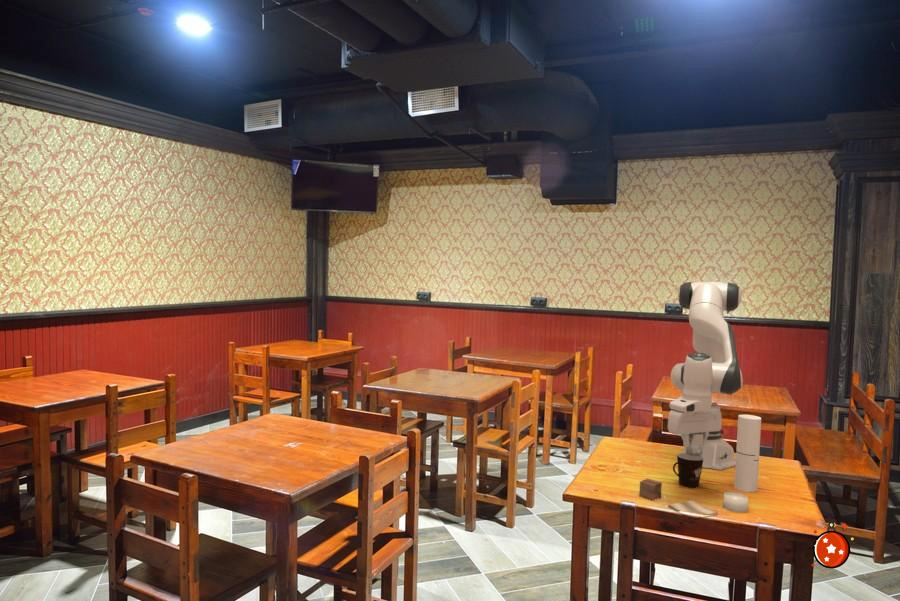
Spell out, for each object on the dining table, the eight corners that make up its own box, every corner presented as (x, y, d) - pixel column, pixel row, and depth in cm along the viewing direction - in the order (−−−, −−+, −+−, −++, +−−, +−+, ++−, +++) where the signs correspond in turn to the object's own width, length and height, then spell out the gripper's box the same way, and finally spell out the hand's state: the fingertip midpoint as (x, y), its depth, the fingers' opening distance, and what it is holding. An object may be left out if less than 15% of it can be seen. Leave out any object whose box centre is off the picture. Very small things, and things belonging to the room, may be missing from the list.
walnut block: (646, 493, 202) (647, 478, 202) (661, 497, 198) (661, 482, 198) (639, 496, 198) (640, 481, 198) (653, 501, 195) (654, 485, 195)
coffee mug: (695, 480, 216) (696, 453, 215) (706, 489, 207) (708, 460, 207) (663, 480, 215) (664, 452, 215) (673, 488, 207) (674, 459, 206)
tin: (693, 451, 199) (694, 430, 199) (705, 455, 195) (706, 434, 195) (682, 452, 197) (683, 431, 197) (694, 457, 193) (695, 435, 193)
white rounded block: (733, 503, 195) (734, 491, 195) (752, 511, 189) (753, 498, 189) (718, 506, 192) (718, 493, 192) (736, 514, 186) (737, 501, 186)
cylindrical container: (730, 484, 213) (734, 414, 212) (751, 485, 213) (755, 414, 212) (739, 491, 206) (743, 419, 205) (761, 492, 206) (765, 419, 205)
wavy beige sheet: (691, 503, 194) (692, 500, 194) (717, 514, 185) (717, 512, 185) (668, 507, 190) (668, 504, 190) (692, 519, 181) (692, 516, 181)
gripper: (712, 400, 203) (710, 441, 203) (665, 403, 194) (663, 445, 195) (727, 404, 197) (725, 446, 197) (680, 407, 189) (678, 451, 189)
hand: (694, 446), depth 196 cm, fingers closed on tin, 5 cm apart
